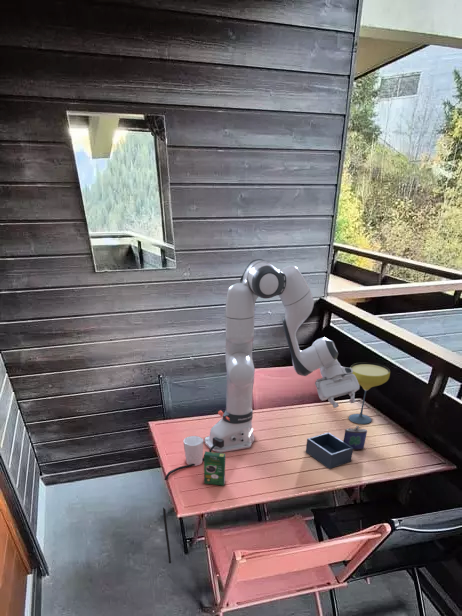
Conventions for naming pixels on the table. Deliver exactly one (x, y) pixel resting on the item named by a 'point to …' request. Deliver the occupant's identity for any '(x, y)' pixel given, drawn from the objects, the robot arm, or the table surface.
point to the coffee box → (214, 468)
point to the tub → (329, 450)
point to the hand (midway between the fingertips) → (344, 404)
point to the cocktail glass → (368, 383)
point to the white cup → (193, 450)
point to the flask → (355, 438)
